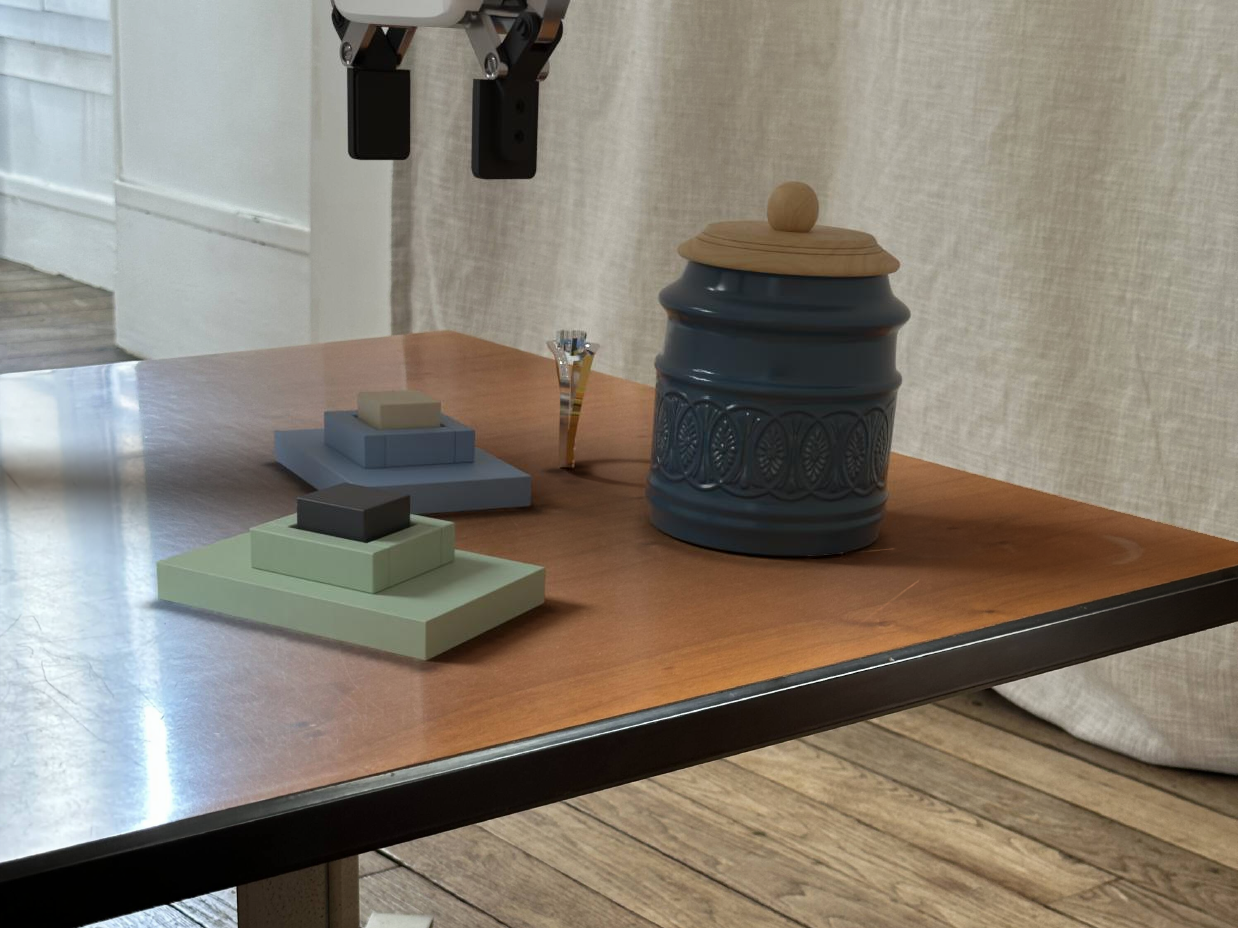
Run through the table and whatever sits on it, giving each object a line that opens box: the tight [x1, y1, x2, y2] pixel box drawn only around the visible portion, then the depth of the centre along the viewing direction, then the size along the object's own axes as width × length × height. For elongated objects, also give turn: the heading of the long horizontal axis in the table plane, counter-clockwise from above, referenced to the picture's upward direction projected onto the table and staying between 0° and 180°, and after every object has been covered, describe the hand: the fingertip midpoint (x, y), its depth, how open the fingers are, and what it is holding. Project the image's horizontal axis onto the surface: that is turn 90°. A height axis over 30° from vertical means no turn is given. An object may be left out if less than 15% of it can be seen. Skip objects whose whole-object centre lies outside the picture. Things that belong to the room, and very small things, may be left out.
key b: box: [356, 389, 442, 430], centre depth 98 cm, size 4×4×2 cm
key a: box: [296, 482, 410, 543], centre depth 77 cm, size 4×4×2 cm
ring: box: [545, 329, 601, 470], centre depth 104 cm, size 7×3×8 cm, turn 177°
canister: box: [644, 180, 912, 557], centre depth 91 cm, size 13×13×18 cm
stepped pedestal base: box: [155, 512, 547, 662], centre depth 78 cm, size 14×10×4 cm
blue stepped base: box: [273, 409, 533, 516], centre depth 99 cm, size 14×10×4 cm
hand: (439, 168), depth 80 cm, fingers open, 9 cm apart
